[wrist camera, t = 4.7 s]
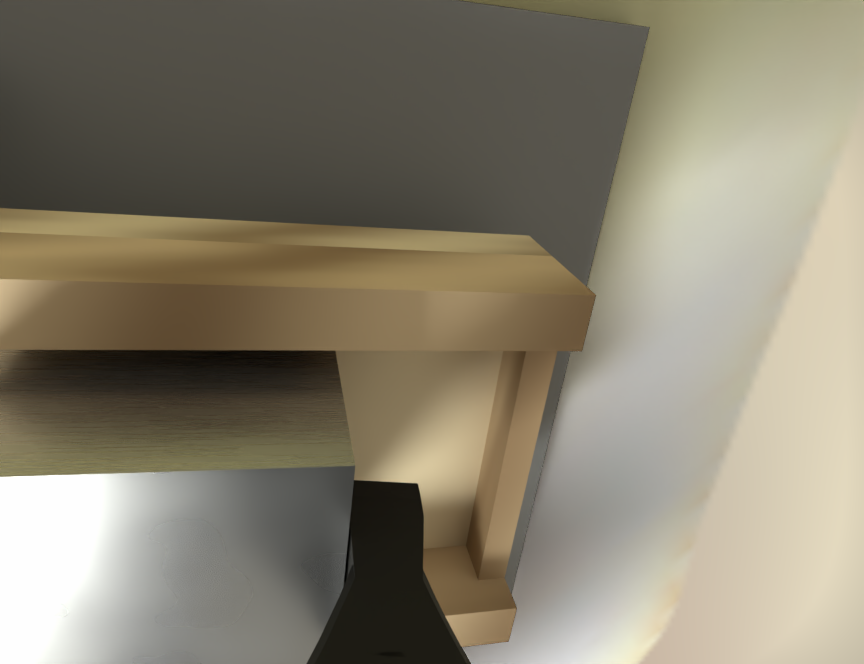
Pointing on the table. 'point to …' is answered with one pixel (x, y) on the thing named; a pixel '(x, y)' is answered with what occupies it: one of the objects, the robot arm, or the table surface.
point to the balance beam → (338, 348)
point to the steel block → (171, 505)
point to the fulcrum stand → (323, 120)
